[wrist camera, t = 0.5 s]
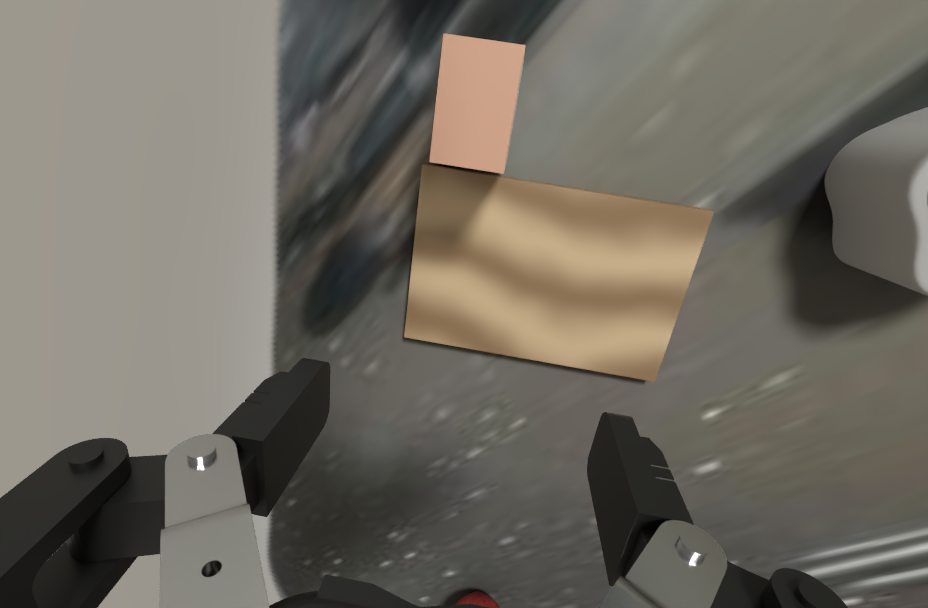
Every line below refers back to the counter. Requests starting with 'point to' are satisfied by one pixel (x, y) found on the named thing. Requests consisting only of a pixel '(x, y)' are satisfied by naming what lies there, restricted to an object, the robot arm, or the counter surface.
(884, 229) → the paw stamp
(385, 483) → the counter surface
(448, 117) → the block
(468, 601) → the red strawberry
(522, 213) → the board
